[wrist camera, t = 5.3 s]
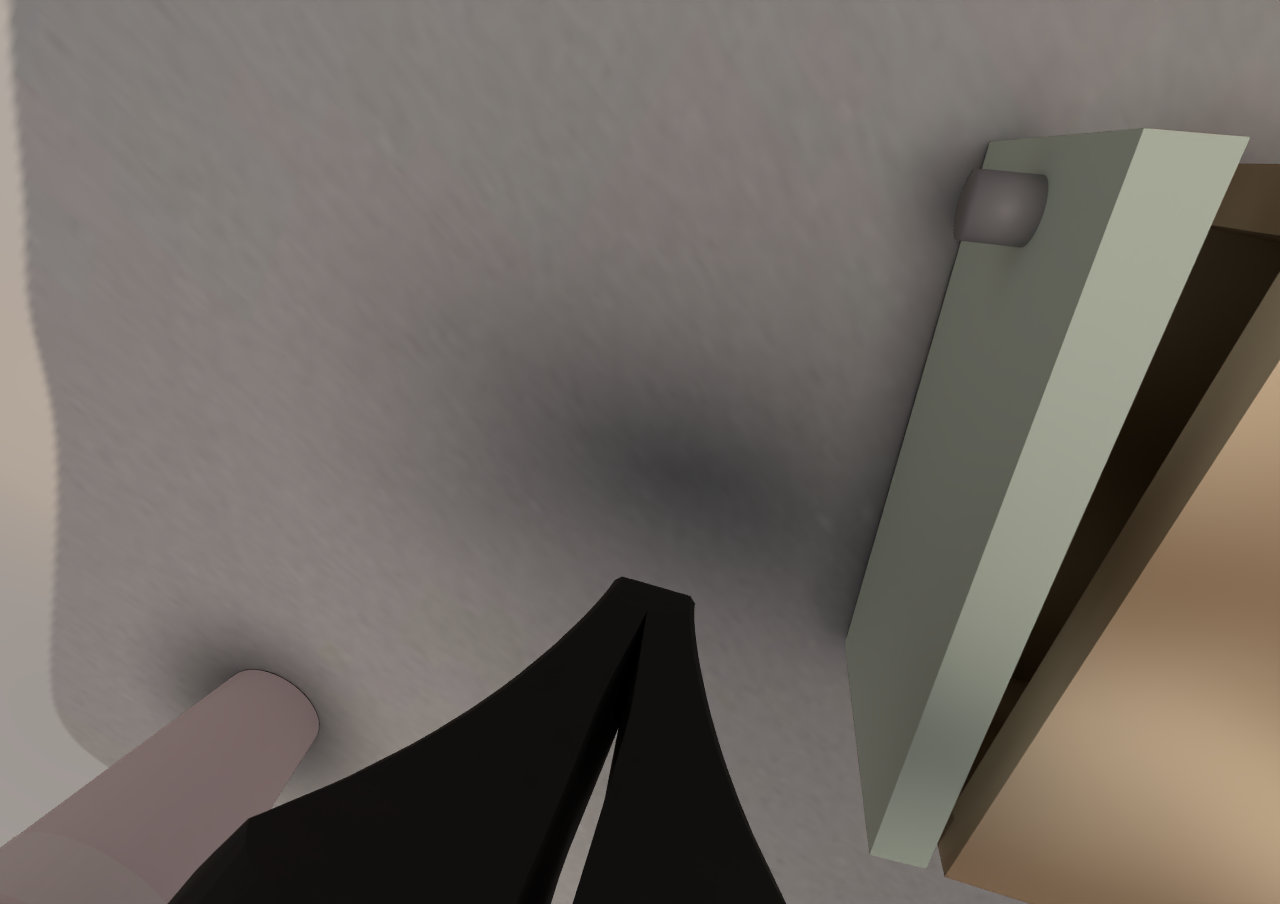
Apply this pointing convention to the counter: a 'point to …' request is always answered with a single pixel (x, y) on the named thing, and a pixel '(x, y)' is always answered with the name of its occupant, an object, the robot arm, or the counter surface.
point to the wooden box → (1158, 628)
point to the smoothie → (165, 801)
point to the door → (1012, 440)
